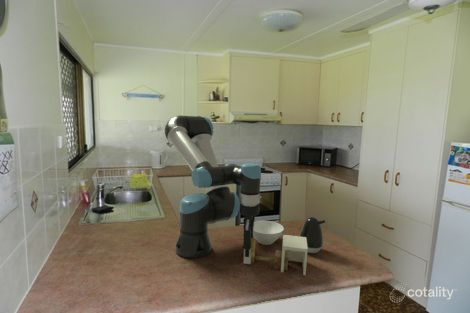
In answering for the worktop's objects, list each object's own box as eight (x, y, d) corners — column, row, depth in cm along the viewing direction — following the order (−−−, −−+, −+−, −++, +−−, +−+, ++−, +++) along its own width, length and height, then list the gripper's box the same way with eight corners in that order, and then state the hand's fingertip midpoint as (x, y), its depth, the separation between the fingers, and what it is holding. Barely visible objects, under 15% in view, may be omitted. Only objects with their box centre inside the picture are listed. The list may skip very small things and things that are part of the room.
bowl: (260, 252, 120) (261, 236, 119) (242, 237, 134) (242, 223, 133) (290, 245, 128) (291, 230, 127) (269, 232, 142) (270, 218, 141)
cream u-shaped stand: (280, 271, 105) (282, 246, 104) (281, 258, 115) (283, 234, 114) (305, 275, 104) (307, 249, 102) (304, 261, 114) (306, 237, 112)
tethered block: (243, 263, 110) (244, 241, 109) (245, 257, 115) (246, 236, 114) (287, 270, 106) (288, 247, 105) (287, 263, 111) (289, 242, 110)
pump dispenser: (324, 257, 117) (327, 222, 115) (298, 254, 119) (301, 220, 117) (321, 247, 127) (324, 214, 125) (298, 244, 129) (300, 212, 127)
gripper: (257, 211, 100) (254, 273, 103) (261, 198, 116) (259, 251, 120) (236, 209, 101) (234, 270, 105) (243, 196, 118) (241, 249, 121)
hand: (247, 260), depth 112 cm, fingers closed on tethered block, 4 cm apart
